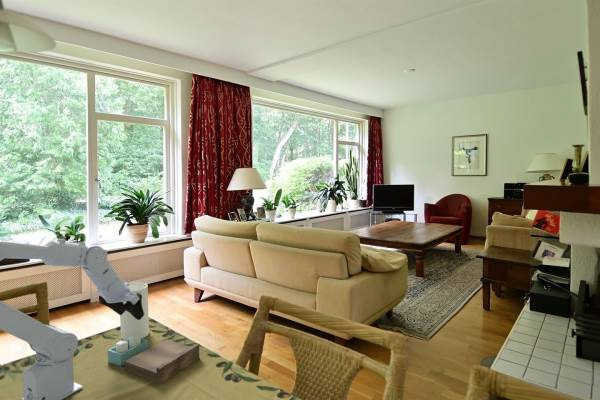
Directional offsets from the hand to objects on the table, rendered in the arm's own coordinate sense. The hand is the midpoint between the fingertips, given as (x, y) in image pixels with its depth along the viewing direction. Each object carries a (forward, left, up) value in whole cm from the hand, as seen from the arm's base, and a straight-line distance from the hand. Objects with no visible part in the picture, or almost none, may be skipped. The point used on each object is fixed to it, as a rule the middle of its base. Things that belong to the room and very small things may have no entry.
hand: (131, 314), depth 102 cm
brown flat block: (0, -12, -12) cm, 17 cm away
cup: (+8, +10, -12) cm, 18 cm away
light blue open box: (-2, 0, -12) cm, 12 cm away
